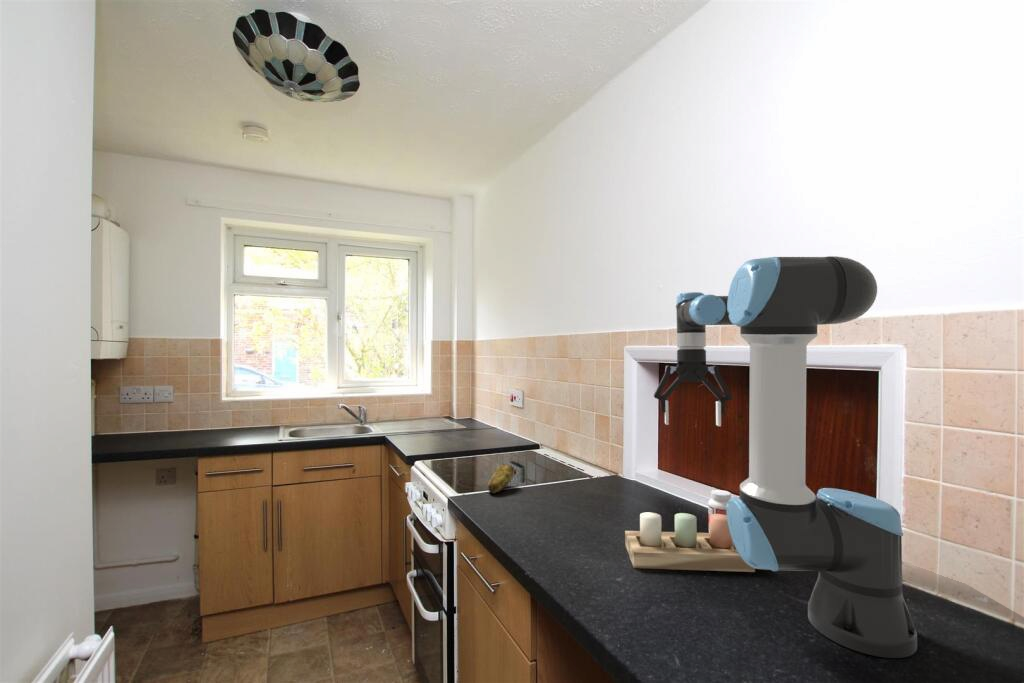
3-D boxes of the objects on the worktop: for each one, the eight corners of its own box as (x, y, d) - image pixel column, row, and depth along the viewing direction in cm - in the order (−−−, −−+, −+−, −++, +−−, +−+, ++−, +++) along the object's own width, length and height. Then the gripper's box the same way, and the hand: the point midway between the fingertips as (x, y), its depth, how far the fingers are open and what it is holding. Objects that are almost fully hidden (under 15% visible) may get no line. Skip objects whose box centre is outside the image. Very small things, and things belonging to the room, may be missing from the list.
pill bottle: (739, 536, 120) (738, 493, 120) (725, 541, 117) (725, 497, 117) (717, 528, 125) (717, 487, 125) (703, 533, 122) (703, 491, 122)
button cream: (663, 546, 106) (663, 520, 106) (642, 545, 107) (642, 519, 107) (658, 537, 111) (658, 512, 111) (638, 537, 111) (638, 512, 111)
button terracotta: (735, 548, 105) (735, 521, 105) (714, 547, 105) (713, 521, 105) (727, 539, 110) (727, 514, 110) (707, 538, 110) (706, 513, 110)
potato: (478, 491, 159) (477, 468, 159) (505, 483, 168) (505, 461, 168) (494, 497, 153) (494, 472, 153) (521, 488, 162) (521, 465, 162)
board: (755, 571, 101) (754, 555, 101) (633, 568, 103) (633, 552, 103) (733, 548, 113) (733, 533, 113) (625, 544, 115) (625, 530, 115)
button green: (699, 547, 106) (699, 520, 106) (678, 546, 106) (677, 520, 106) (693, 538, 110) (692, 513, 110) (672, 537, 111) (672, 512, 111)
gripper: (736, 348, 130) (737, 423, 130) (644, 348, 136) (645, 421, 135) (743, 348, 123) (744, 428, 122) (645, 348, 128) (646, 425, 128)
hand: (692, 424), depth 129 cm, fingers open, 13 cm apart
